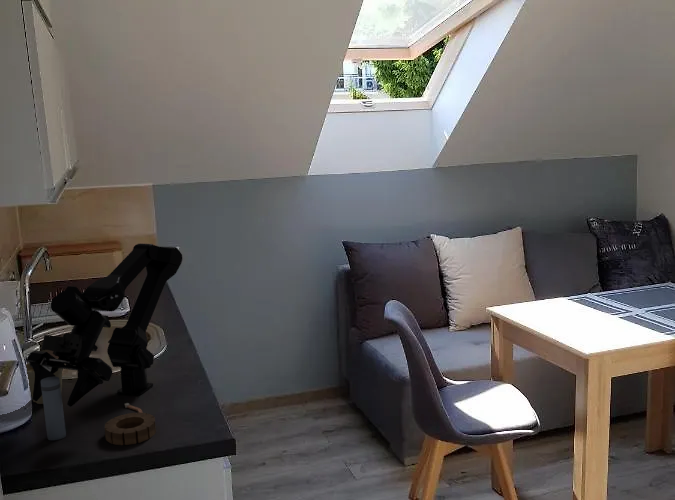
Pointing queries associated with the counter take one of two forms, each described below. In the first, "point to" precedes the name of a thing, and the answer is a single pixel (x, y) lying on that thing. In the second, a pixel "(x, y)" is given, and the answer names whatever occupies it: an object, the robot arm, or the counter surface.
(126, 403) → the lace
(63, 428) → the dark grey capped cylinder
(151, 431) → the brown segmented ring
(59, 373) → the flower pot
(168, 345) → the counter surface
